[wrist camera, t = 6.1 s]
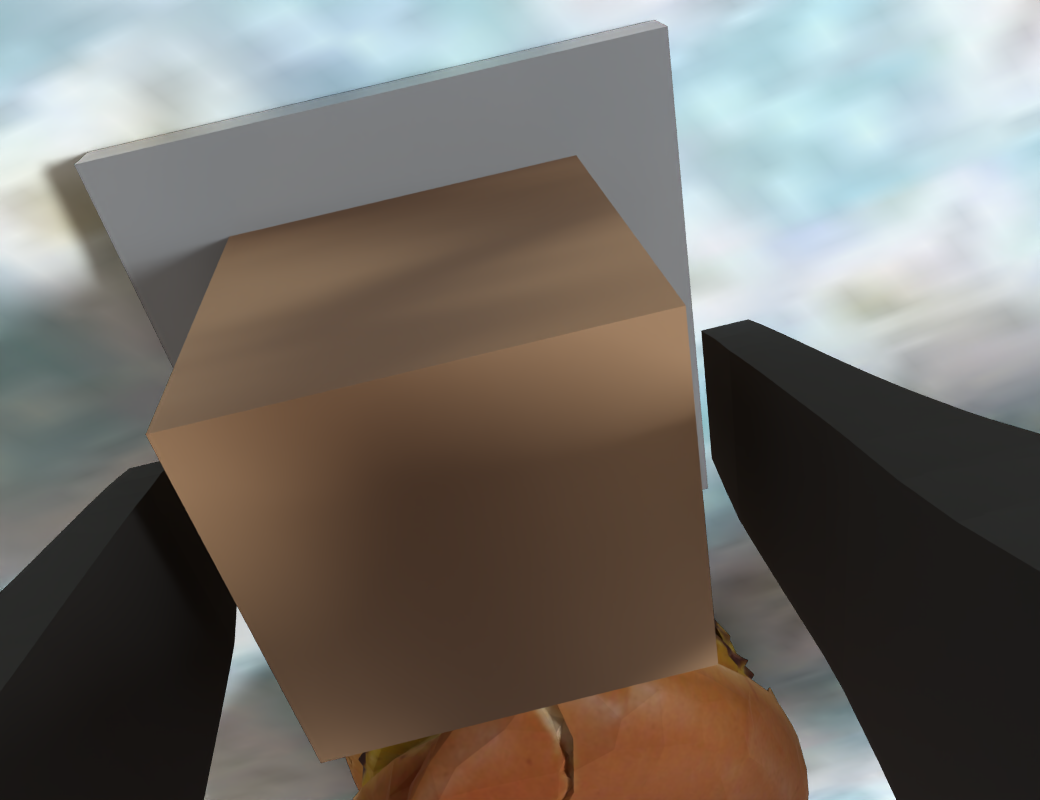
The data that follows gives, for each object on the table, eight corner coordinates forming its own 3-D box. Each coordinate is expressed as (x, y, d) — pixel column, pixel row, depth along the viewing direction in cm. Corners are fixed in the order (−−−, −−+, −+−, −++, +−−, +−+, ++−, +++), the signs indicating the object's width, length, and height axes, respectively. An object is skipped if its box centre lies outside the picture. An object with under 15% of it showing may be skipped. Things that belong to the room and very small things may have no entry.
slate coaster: (654, 20, 12) (667, 26, 11) (697, 469, 16) (708, 488, 15) (88, 151, 11) (74, 164, 11) (285, 569, 16) (282, 592, 15)
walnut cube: (575, 154, 12) (685, 305, 8) (619, 437, 15) (717, 664, 10) (228, 236, 12) (145, 434, 8) (337, 506, 14) (320, 763, 10)
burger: (672, 830, 23) (733, 1030, 19) (319, 830, 20) (303, 1055, 16) (813, 550, 18) (936, 738, 14) (373, 512, 16) (369, 721, 12)
